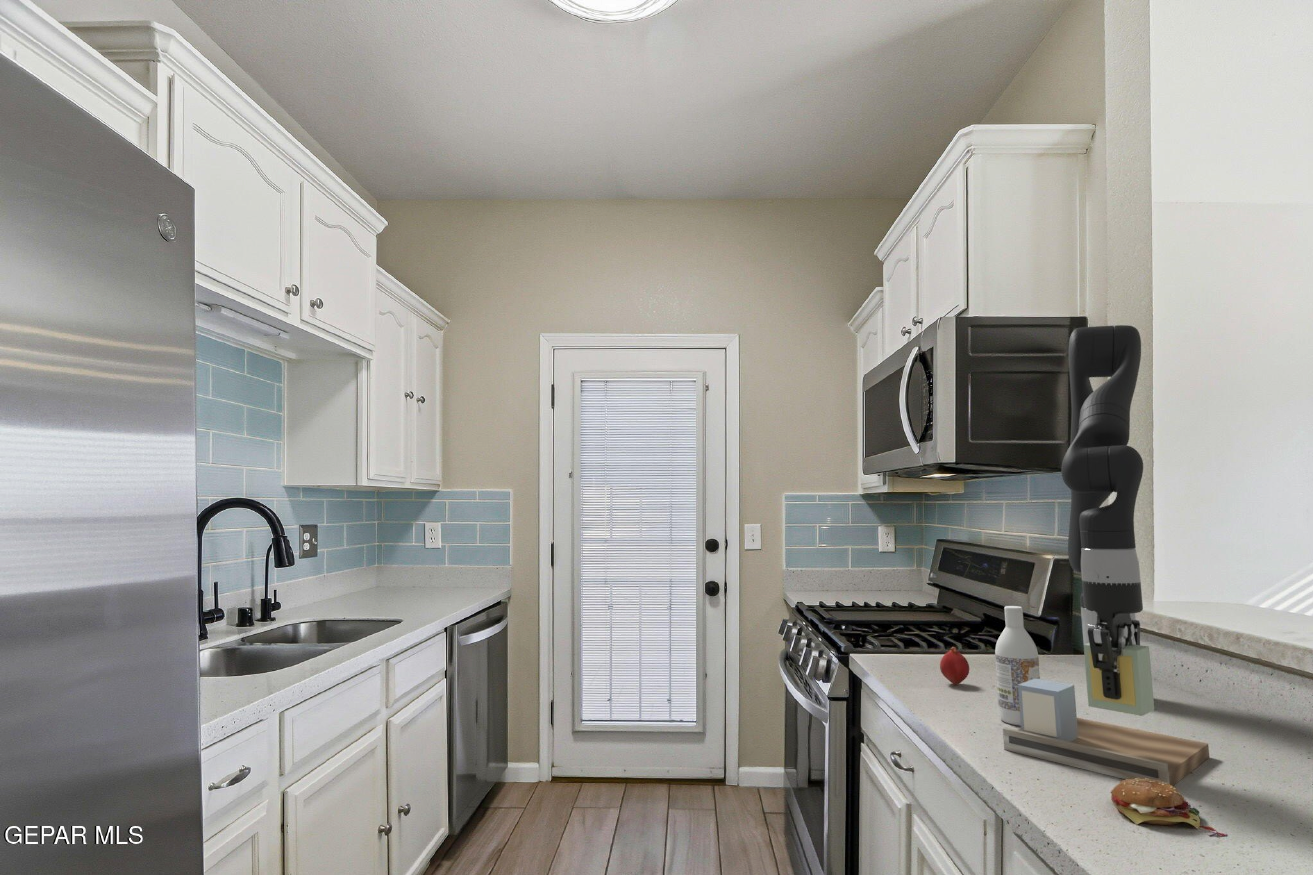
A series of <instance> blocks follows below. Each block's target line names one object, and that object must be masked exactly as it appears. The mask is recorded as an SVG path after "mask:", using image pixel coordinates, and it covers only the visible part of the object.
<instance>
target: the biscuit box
mask: <svg viewBox="0 0 1313 875" xmlns="http://www.w3.org/2000/svg"><path fill="white" fill-rule="evenodd" d="M1075 689H1076V688H1075V684H1070V683H1063V682H1059V681H1058V682H1057V681H1052V680H1046V679H1041V678H1040V679H1032V680H1030V681H1027V682H1024V683H1021V684H1019V685H1018V693H1019V708H1020V723H1021V726H1020V729H1021V731H1023V732H1027V733H1032V734H1036V735H1041V736H1045V737H1050V738H1054V739H1059V740H1063V741H1068V742H1071V741H1073V740H1075V739H1076V738H1078V728H1077V718H1078V717H1077V704H1076V693H1075V691H1076V690H1075Z"/></svg>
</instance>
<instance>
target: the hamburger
mask: <svg viewBox="0 0 1313 875" xmlns="http://www.w3.org/2000/svg"><path fill="white" fill-rule="evenodd" d="M1109 794H1111V795H1110V799H1111V801H1112V804H1113V805H1114V807H1115V808H1116V809H1117V810H1118V812H1120V813H1121V814H1123V815H1124V816H1126V817H1127V818H1128V819H1130V820H1131V821H1132V822H1133V823H1134V824H1135V825H1139V824H1140V823H1146V824H1151V825H1159V826H1171V825H1173V826H1174V825H1178V824H1180V823H1182V822H1183V823H1188V824H1190V825H1192V826H1194V827H1195V828H1196V829H1197V830H1198V829H1199V828H1200V829H1204V830H1206V831H1209V833H1212V834H1209V835H1208V837H1210V838H1213V837H1214V836H1215V837H1217V836H1218V837H1221V838H1222V837H1227V836H1228V834H1227V833H1226V832H1223V833H1222V832H1218V830H1217V829H1214V827H1211V826H1207V825H1205V826H1204V825H1201V819H1200V818H1199V815H1200V813H1201V812H1200V811H1199V809H1197V808H1195V807H1194V805H1193V803H1191V802H1189V801H1188V800H1187V799H1186V797H1185V796H1184V795H1183V794H1181V793H1180V791H1179V790H1178V789H1177V788H1176V787H1175V786H1174V785H1173V786H1172V785H1169V784H1167V783H1163V782H1160V781H1156V780H1149V779H1146V778H1145V779H1137V778H1136V779H1128V780H1126V779H1122V781H1120V782H1119V783H1118V784H1117V785H1116V786H1114V787H1113V788H1112V790H1111V791H1110V793H1109Z"/></svg>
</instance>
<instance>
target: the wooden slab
mask: <svg viewBox="0 0 1313 875" xmlns="http://www.w3.org/2000/svg"><path fill="white" fill-rule="evenodd" d="M1077 728H1078V738H1076V739H1075V740H1073V741H1071V742H1068V741H1063V740H1059V739H1054V738H1050V737H1045V736H1041V735H1036V734H1032V733H1027V732H1023V731H1021V728H1019V729H1013V728H1009V727H1003V728H1002V733H1003V734H1002V735H1003V750H1005V751H1008V752H1011V753H1012V752H1013V753H1017V754H1021V755H1025V756H1028V757H1033V758H1036V759H1041V760H1045V761H1049V762H1054V763H1058V764H1062V765H1066V766H1070V767H1074V768H1078V769H1082V770H1086V771H1090V772H1094V773H1098V774H1103V775H1106V776H1110V777H1115V778H1118V779H1122V780H1128V779H1136V778H1137V779H1145V778H1146V779H1149V780H1156V781H1160V782H1163V783H1167V784H1169V785H1172V786H1173V787H1174V785H1176V784H1178V783H1179V782H1180V781H1181V780H1182V779H1183V778H1185V777H1186V776H1188V775H1189V774H1190V773H1192V772H1193V771H1195V769H1196V768H1197V767H1199V766H1200V765H1201V764H1203V763H1204V762H1205V761H1207V760H1208V759H1209V758H1210V749H1209V748H1210V747H1209V742H1203V741H1197V740H1193V739H1187V738H1183V737H1179V736H1174V735H1173V736H1172V735H1169V734H1162V733H1157V732H1152V731H1149V730H1148V731H1146V730H1142V729H1136V728H1131V727H1126V726H1121V725H1116V724H1112V723H1105V722H1102V721H1096V720H1090V719H1085V718H1082V717H1081V718H1080V717H1077ZM1207 758H1208V759H1207ZM1206 759H1207V760H1206ZM1202 762H1203V763H1202ZM1180 779H1181V780H1180ZM1175 783H1176V784H1175Z"/></svg>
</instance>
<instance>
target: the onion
mask: <svg viewBox="0 0 1313 875" xmlns="http://www.w3.org/2000/svg"><path fill="white" fill-rule="evenodd" d="M940 659H941V660H940V663H939V670H940V672H941V674H942V675H943V676H944V677H945V679H947V680H948V681H949V682H950V683H951V684H952V685H954V686H958V685H960V684H961V683H962V682H963V681H965V679H966V678H968V676H969V674H970V664H969V661H968V660H967V658H966V657H965V656H964V655H963V654H962V653H961V652H960V651H958V650H957V647H955V646H952V647H951V648H950V650H949V651H948V652H946V653H944V655H943V656H942V658H940Z"/></svg>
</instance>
